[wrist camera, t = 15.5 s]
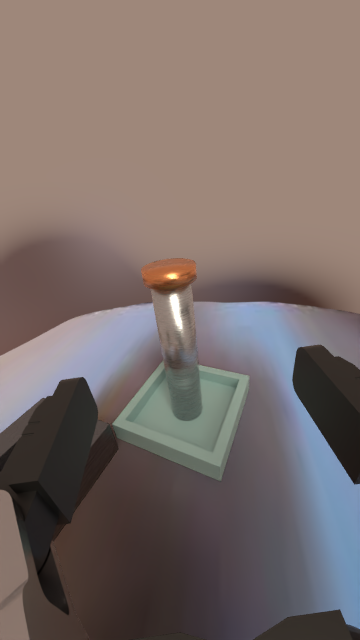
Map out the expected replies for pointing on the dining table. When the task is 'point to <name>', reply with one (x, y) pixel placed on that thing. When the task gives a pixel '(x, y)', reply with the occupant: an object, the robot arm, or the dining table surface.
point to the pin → (177, 331)
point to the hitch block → (96, 461)
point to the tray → (187, 436)
